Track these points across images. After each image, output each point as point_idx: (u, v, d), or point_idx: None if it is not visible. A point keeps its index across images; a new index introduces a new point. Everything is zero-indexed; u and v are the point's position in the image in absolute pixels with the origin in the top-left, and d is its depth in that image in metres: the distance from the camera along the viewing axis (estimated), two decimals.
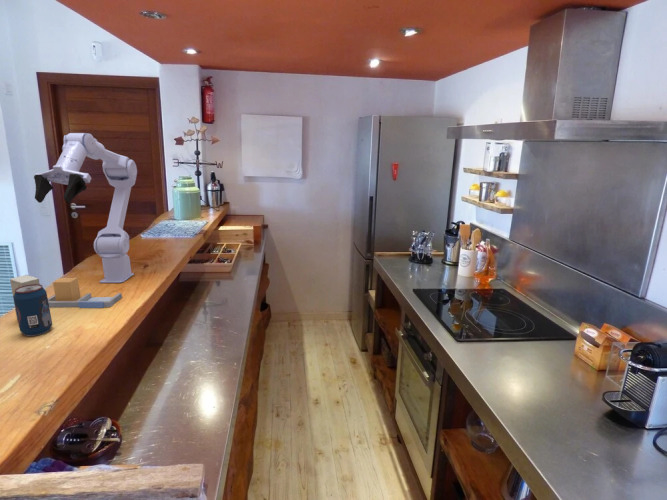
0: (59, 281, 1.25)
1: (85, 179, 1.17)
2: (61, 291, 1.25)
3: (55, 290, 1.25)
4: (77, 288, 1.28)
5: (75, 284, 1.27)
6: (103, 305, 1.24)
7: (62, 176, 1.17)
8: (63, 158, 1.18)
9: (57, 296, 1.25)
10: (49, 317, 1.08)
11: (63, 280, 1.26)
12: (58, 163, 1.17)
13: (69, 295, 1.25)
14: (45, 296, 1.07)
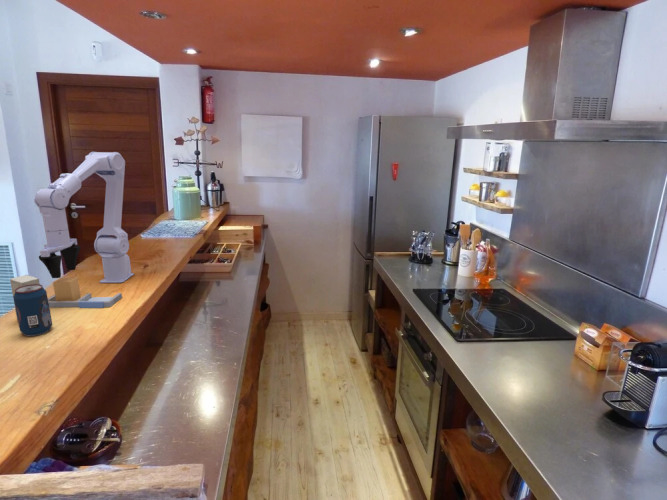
0: (59, 281, 1.25)
1: None
2: (61, 291, 1.25)
3: (55, 290, 1.25)
4: (77, 288, 1.28)
5: (75, 284, 1.27)
6: (103, 305, 1.24)
7: None
8: None
9: (57, 296, 1.25)
10: (49, 317, 1.08)
11: (63, 280, 1.26)
12: None
13: (69, 295, 1.25)
14: (45, 296, 1.07)
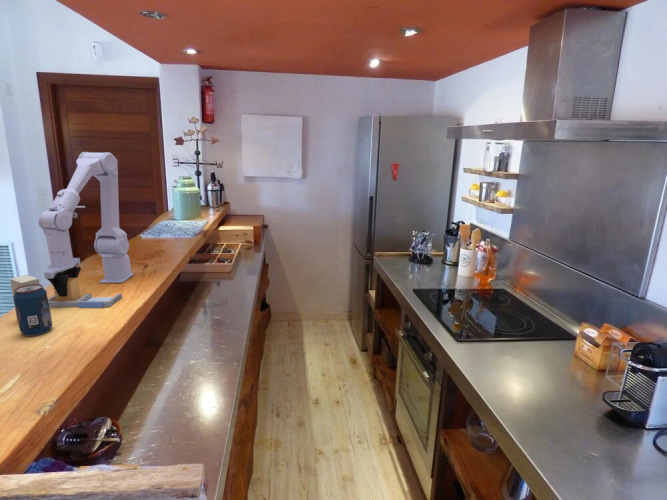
0: None
1: None
2: None
3: (55, 290, 1.25)
4: (77, 288, 1.28)
5: (75, 284, 1.27)
6: (103, 305, 1.24)
7: None
8: None
9: (57, 296, 1.25)
10: (49, 317, 1.08)
11: None
12: None
13: (69, 295, 1.25)
14: (45, 296, 1.07)
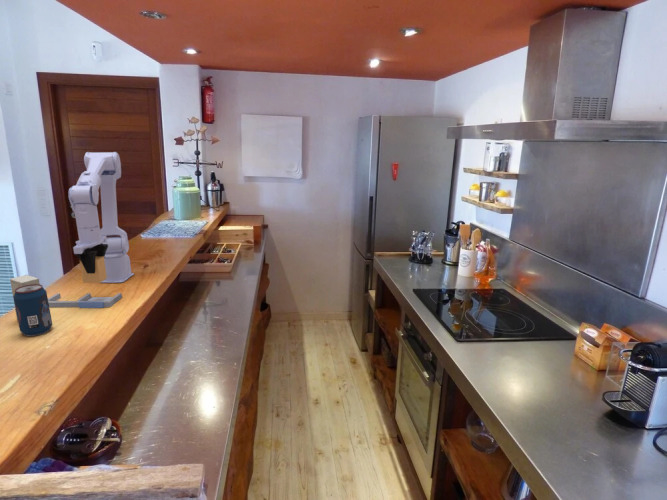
0: None
1: None
2: None
3: (82, 268, 1.23)
4: (103, 267, 1.27)
5: (102, 262, 1.26)
6: (103, 305, 1.24)
7: None
8: None
9: (84, 275, 1.24)
10: (49, 317, 1.08)
11: None
12: None
13: (96, 273, 1.24)
14: (45, 296, 1.07)
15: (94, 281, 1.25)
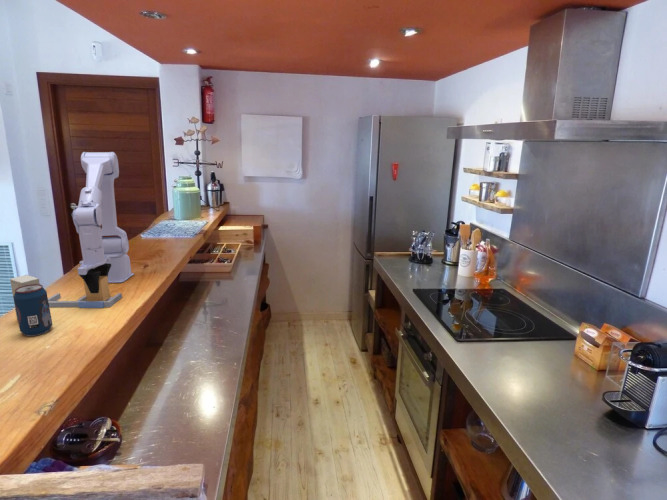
0: None
1: None
2: None
3: (86, 288, 1.25)
4: (107, 286, 1.28)
5: (105, 282, 1.27)
6: (103, 305, 1.24)
7: None
8: None
9: (88, 294, 1.26)
10: (49, 317, 1.08)
11: None
12: None
13: (100, 293, 1.26)
14: (45, 296, 1.07)
15: None
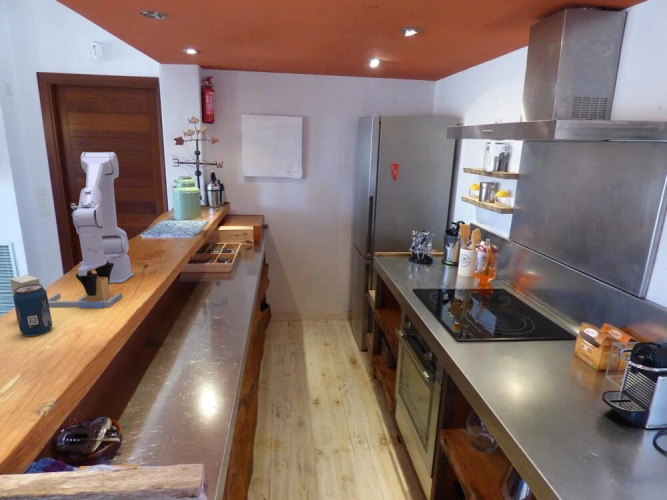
0: None
1: None
2: None
3: None
4: (107, 287, 1.28)
5: (105, 283, 1.28)
6: (103, 305, 1.24)
7: None
8: None
9: None
10: (49, 317, 1.08)
11: None
12: None
13: (100, 294, 1.26)
14: (45, 296, 1.07)
15: None
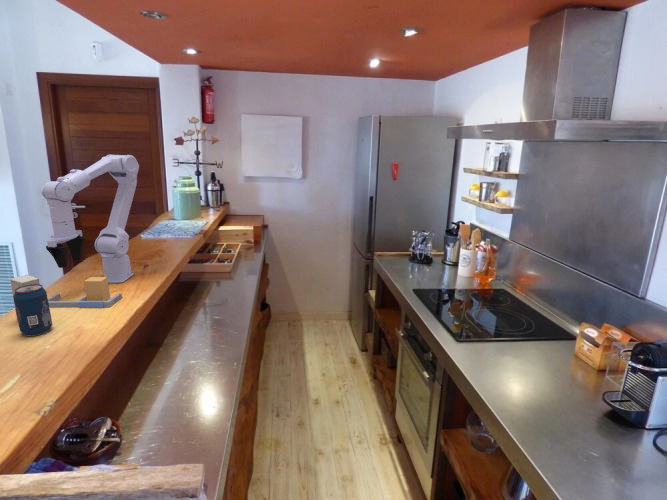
0: (90, 280, 1.25)
1: (51, 246, 1.22)
2: (92, 290, 1.25)
3: (86, 289, 1.25)
4: (107, 287, 1.28)
5: (105, 283, 1.28)
6: (103, 305, 1.24)
7: None
8: None
9: (88, 295, 1.26)
10: (49, 317, 1.08)
11: (94, 279, 1.26)
12: None
13: (100, 294, 1.26)
14: (45, 296, 1.06)
15: None
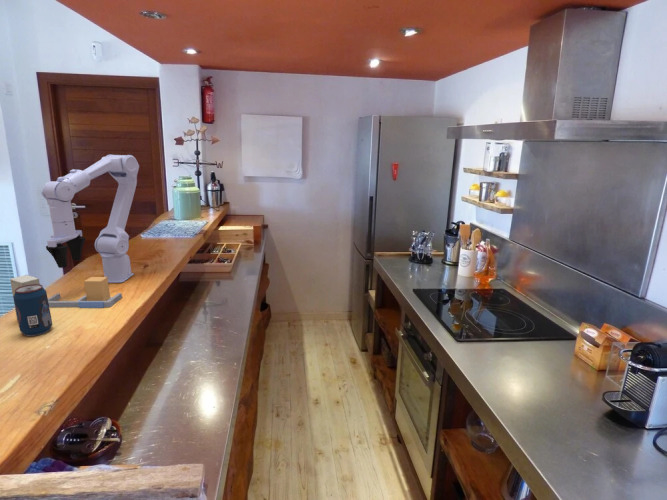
0: (90, 280, 1.25)
1: (51, 246, 1.22)
2: (92, 290, 1.25)
3: (86, 289, 1.25)
4: (107, 287, 1.28)
5: (105, 283, 1.28)
6: (103, 305, 1.24)
7: None
8: None
9: (88, 295, 1.26)
10: (49, 317, 1.08)
11: (94, 279, 1.26)
12: None
13: (100, 294, 1.26)
14: (45, 296, 1.07)
15: None
